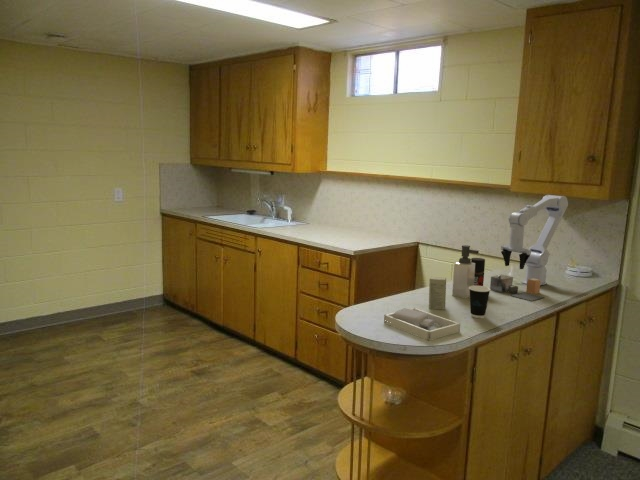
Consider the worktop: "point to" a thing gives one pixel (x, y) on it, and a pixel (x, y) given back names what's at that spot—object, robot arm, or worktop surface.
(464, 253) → the soap dispenser
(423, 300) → the worktop surface
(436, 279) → the skincare box
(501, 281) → the junction box
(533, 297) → the rubber mat
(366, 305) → the worktop surface
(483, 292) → the dixie cup
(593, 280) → the worktop surface
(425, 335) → the tray
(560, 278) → the worktop surface
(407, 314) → the charger
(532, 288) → the block
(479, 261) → the deodorant
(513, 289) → the black knob
